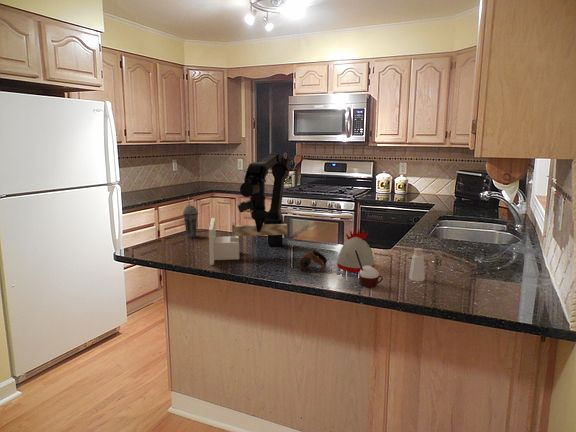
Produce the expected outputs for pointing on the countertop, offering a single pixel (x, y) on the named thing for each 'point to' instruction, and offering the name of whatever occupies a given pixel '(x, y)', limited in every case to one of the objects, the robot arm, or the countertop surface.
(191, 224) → the beverage cup
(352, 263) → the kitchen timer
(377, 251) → the countertop surface
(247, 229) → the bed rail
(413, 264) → the pepper shaker
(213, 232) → the white angular piece
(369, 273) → the cocoa
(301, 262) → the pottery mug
